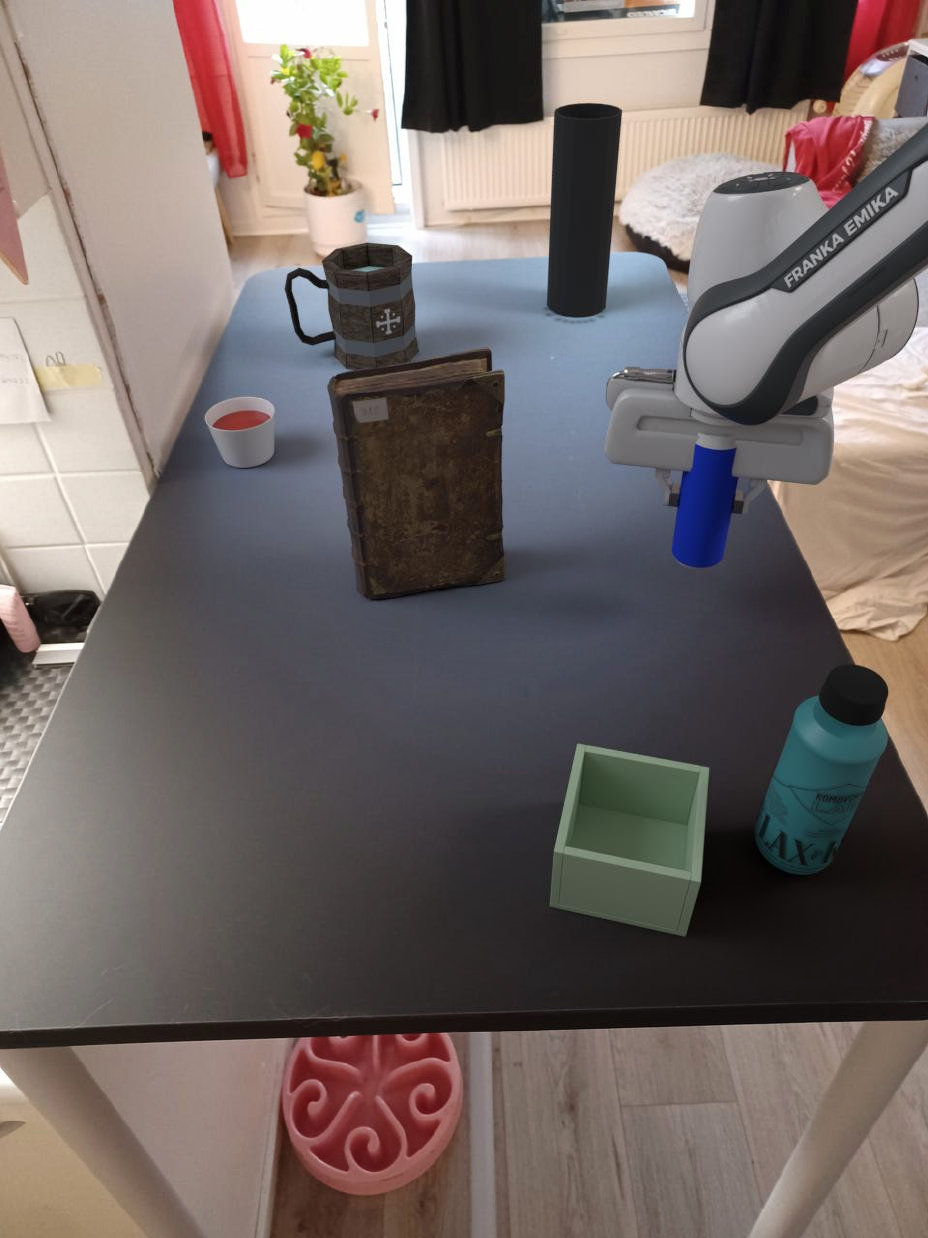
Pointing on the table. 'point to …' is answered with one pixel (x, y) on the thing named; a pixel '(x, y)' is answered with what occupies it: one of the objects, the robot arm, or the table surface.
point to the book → (422, 472)
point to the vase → (582, 207)
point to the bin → (631, 839)
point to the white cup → (243, 430)
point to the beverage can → (705, 503)
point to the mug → (365, 305)
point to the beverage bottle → (823, 771)
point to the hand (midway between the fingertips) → (705, 507)
